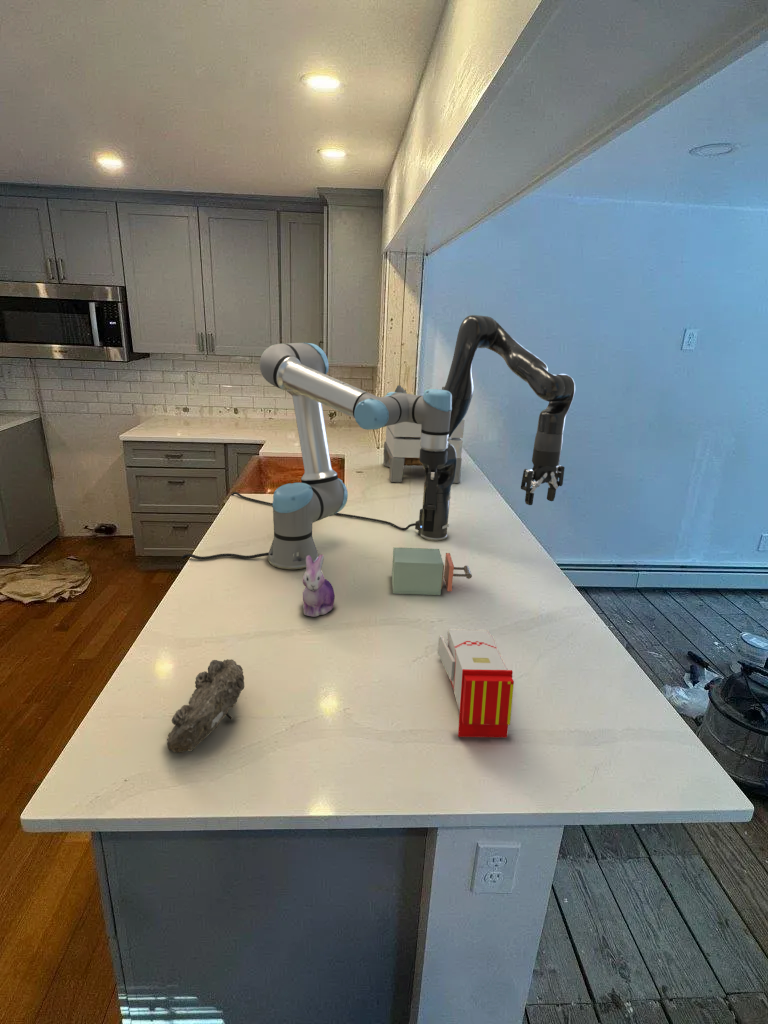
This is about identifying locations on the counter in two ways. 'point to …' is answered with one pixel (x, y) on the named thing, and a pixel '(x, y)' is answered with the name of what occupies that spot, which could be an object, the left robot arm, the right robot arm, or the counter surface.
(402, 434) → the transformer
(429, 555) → the cabinet
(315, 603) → the figurine
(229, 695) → the fossil
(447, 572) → the drawer
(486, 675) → the toy
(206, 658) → the counter surface
